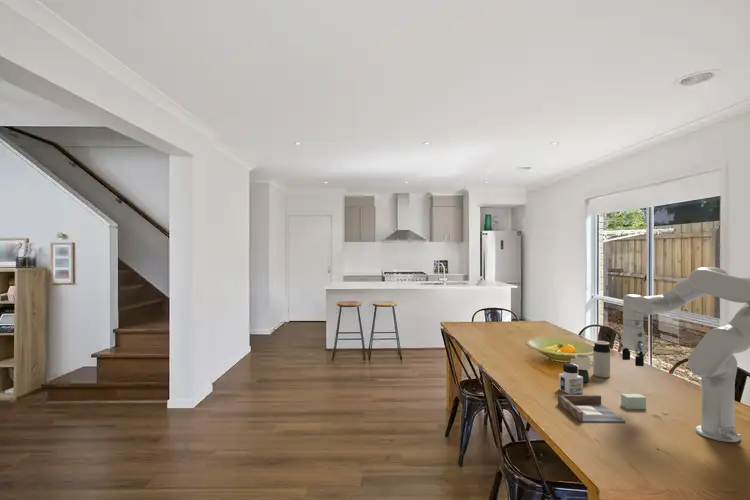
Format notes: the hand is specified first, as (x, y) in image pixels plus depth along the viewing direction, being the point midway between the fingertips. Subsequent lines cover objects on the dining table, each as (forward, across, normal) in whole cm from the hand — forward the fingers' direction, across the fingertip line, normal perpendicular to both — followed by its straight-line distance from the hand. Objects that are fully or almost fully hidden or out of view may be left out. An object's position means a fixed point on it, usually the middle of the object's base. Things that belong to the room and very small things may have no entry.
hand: (632, 362), depth 184 cm
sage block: (+19, 0, 0) cm, 19 cm away
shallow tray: (+19, -8, +22) cm, 30 cm away
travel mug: (+20, +46, -10) cm, 51 cm away
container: (+19, +20, +18) cm, 33 cm away
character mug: (+20, +36, +5) cm, 41 cm away
